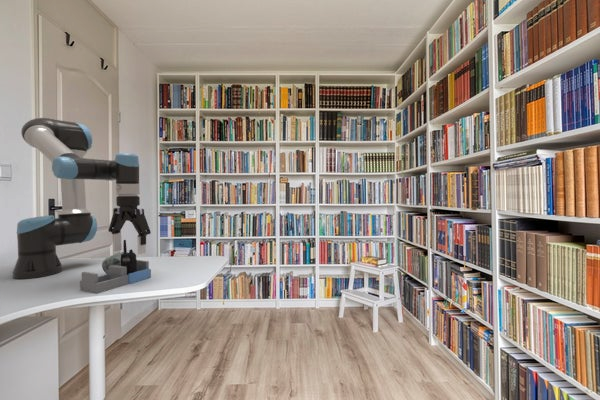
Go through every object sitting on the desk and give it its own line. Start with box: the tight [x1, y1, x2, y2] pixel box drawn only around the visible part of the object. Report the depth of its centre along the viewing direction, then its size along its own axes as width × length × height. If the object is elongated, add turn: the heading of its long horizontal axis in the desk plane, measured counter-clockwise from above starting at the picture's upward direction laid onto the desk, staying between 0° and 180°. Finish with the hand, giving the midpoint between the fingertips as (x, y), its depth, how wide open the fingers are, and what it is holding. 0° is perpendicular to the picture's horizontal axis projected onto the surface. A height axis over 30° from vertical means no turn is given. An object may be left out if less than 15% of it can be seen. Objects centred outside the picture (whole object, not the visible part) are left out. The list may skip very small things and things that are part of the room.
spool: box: [101, 251, 129, 275], centre depth 122 cm, size 14×10×10 cm
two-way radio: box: [121, 239, 138, 275], centre depth 112 cm, size 6×4×15 cm
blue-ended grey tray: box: [79, 259, 152, 294], centre depth 107 cm, size 10×20×6 cm, turn 155°
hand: (129, 252), depth 112 cm, fingers open, 13 cm apart
